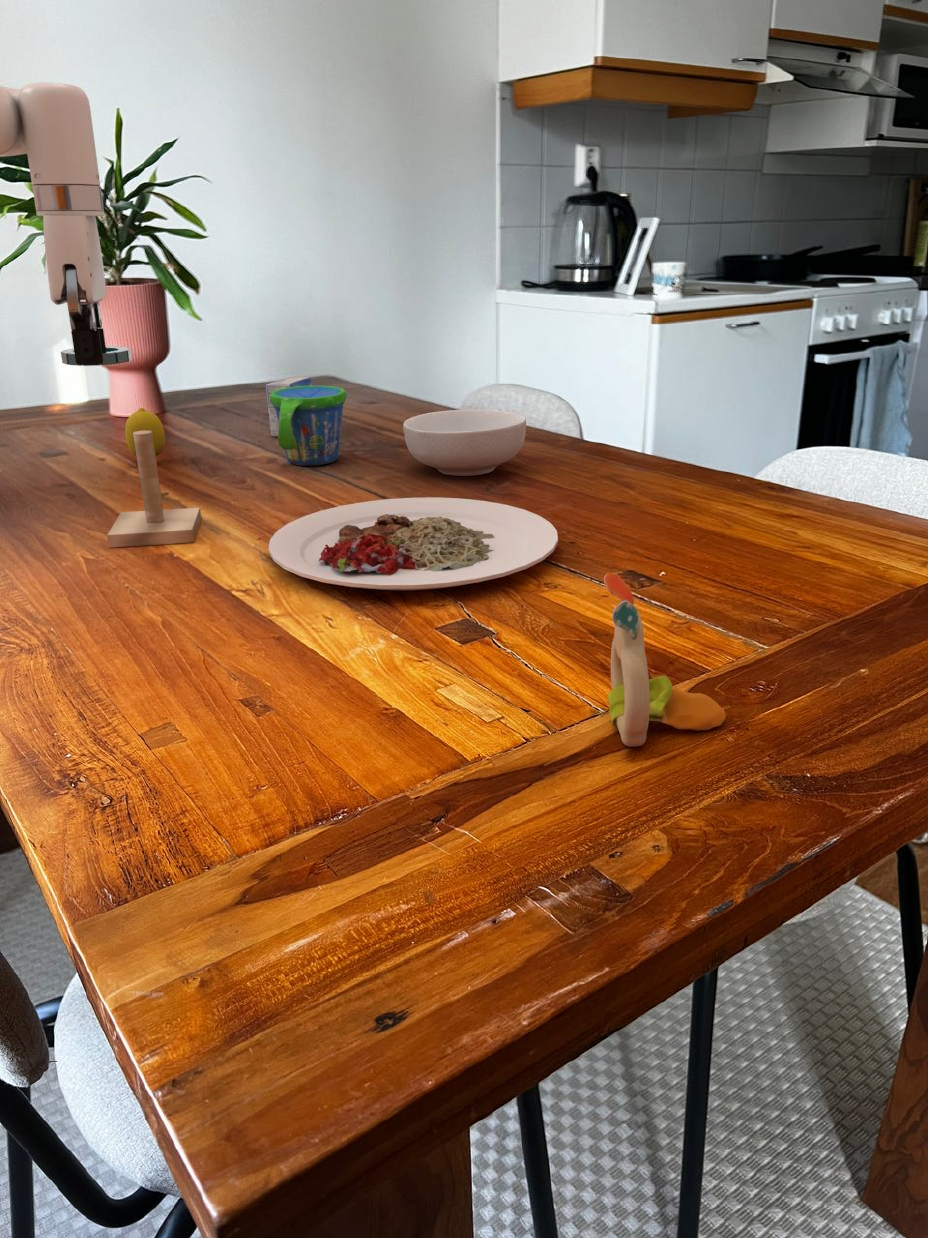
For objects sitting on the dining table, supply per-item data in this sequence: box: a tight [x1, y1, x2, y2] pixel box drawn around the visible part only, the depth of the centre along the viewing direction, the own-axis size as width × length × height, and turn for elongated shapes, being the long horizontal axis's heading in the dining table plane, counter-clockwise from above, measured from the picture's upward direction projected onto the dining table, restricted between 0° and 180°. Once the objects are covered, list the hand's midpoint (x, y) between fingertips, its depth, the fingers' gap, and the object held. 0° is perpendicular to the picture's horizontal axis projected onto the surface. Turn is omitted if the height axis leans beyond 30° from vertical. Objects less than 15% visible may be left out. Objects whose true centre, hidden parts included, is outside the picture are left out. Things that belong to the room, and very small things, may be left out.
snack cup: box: [270, 385, 348, 467], centre depth 139 cm, size 16×10×10 cm
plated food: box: [268, 496, 559, 591], centre depth 101 cm, size 30×30×3 cm
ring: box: [60, 345, 132, 367], centre depth 124 cm, size 8×8×1 cm
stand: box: [106, 431, 202, 549], centre depth 107 cm, size 9×9×12 cm
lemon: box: [124, 407, 166, 457], centre depth 141 cm, size 6×6×8 cm
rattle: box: [603, 572, 727, 748], centre depth 63 cm, size 8×8×12 cm
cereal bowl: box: [402, 409, 527, 477], centre depth 134 cm, size 17×17×7 cm
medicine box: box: [265, 376, 313, 438], centre depth 159 cm, size 8×4×9 cm, turn 162°
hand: (91, 361), depth 121 cm, fingers closed on ring, 1 cm apart
